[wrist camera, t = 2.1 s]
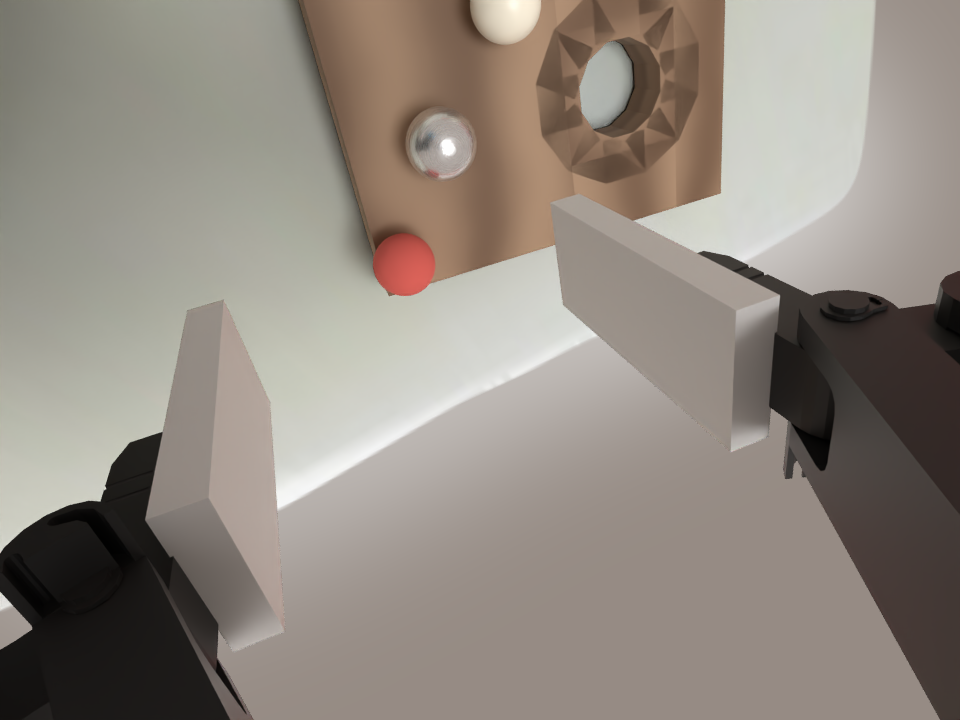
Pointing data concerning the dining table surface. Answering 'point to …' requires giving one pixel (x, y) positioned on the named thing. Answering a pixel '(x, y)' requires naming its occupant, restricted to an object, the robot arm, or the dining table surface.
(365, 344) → the dining table surface
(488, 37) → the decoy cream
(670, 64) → the board
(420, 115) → the steel ball
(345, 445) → the dining table surface
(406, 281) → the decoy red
